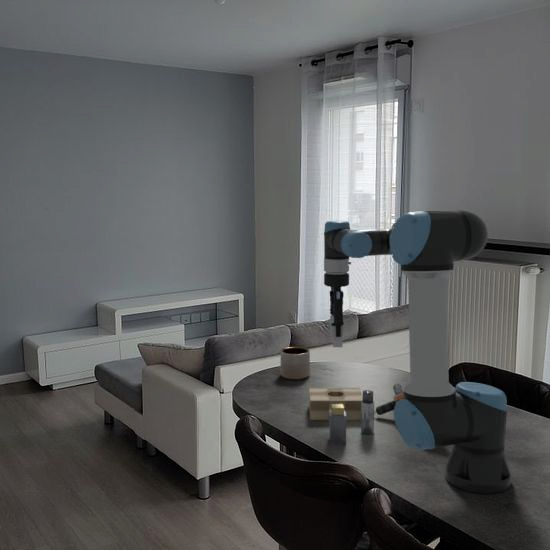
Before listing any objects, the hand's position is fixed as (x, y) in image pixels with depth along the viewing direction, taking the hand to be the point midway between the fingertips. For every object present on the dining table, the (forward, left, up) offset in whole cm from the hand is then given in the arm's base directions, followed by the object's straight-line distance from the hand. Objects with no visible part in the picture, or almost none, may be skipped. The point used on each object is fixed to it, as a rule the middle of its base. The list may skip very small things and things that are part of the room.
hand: (336, 341), depth 197 cm
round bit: (-16, -8, -23) cm, 29 cm away
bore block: (0, 0, -23) cm, 23 cm away
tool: (-7, -20, -20) cm, 29 cm away
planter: (+38, +12, -23) cm, 46 cm away
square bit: (-22, +1, -23) cm, 31 cm away
